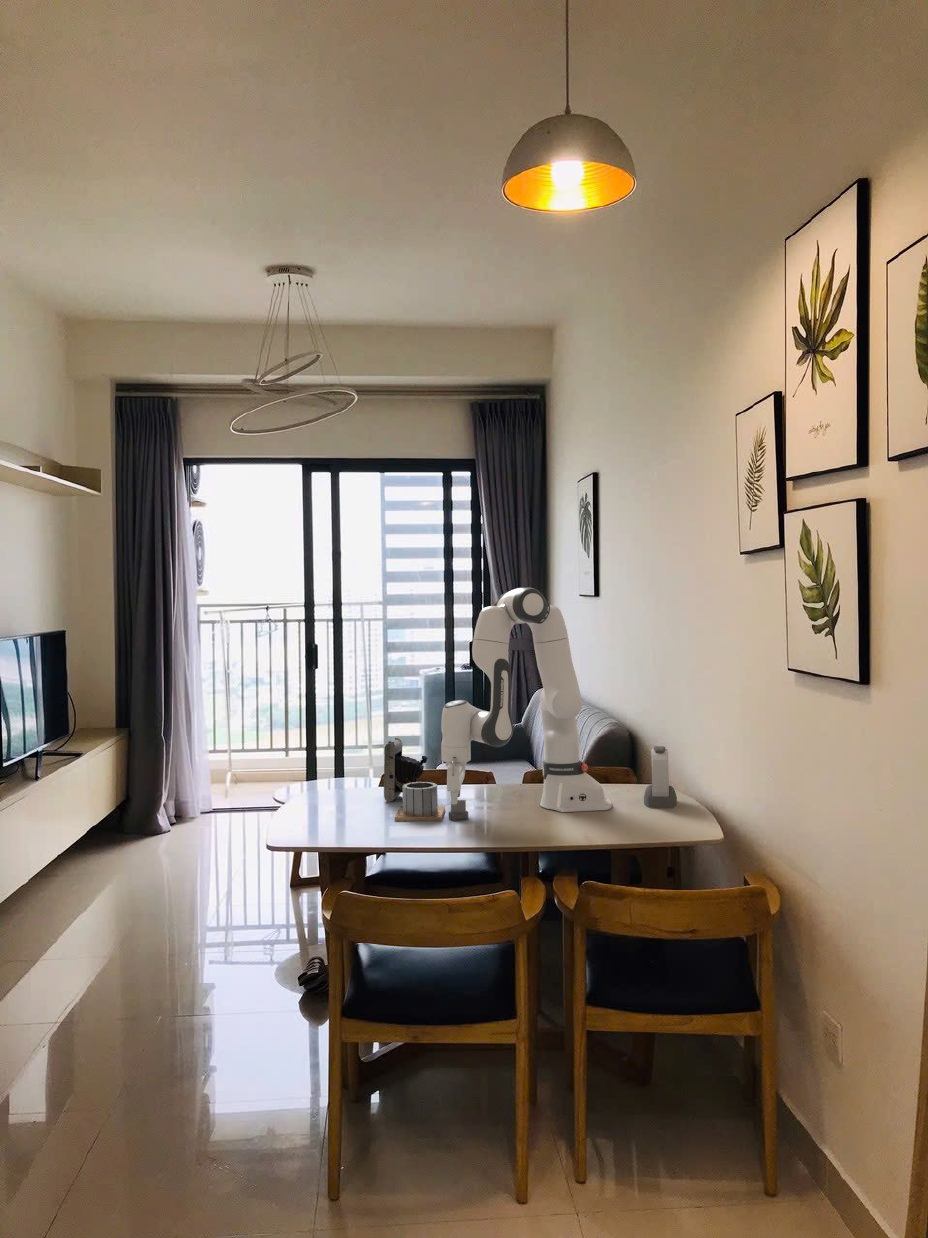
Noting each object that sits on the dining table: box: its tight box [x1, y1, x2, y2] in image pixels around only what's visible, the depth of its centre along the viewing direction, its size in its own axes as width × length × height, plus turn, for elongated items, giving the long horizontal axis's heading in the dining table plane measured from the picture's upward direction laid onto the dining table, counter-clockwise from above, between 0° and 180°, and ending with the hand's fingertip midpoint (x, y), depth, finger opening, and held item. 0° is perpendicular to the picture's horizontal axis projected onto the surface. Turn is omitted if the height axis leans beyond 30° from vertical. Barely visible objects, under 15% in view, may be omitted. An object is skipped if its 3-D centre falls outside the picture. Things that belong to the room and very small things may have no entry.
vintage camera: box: [383, 737, 429, 803], centre depth 294 cm, size 10×15×20 cm, turn 78°
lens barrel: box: [394, 781, 446, 822], centre depth 272 cm, size 14×14×9 cm
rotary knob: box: [448, 799, 469, 822], centre depth 267 cm, size 6×6×6 cm
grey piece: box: [643, 745, 678, 810], centre depth 281 cm, size 16×10×18 cm, turn 168°
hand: (455, 800), depth 267 cm, fingers open, 8 cm apart
